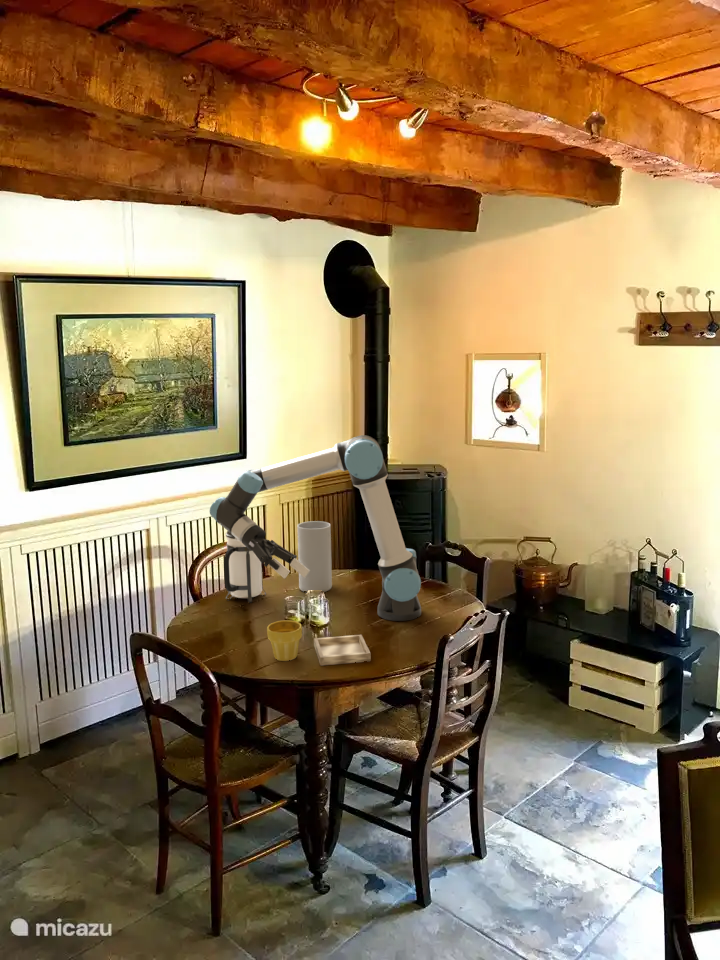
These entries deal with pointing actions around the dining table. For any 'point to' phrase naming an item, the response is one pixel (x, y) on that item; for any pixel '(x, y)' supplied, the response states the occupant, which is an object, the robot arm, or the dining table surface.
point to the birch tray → (341, 650)
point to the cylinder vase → (315, 555)
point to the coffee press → (241, 570)
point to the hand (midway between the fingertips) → (297, 574)
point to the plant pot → (284, 639)
